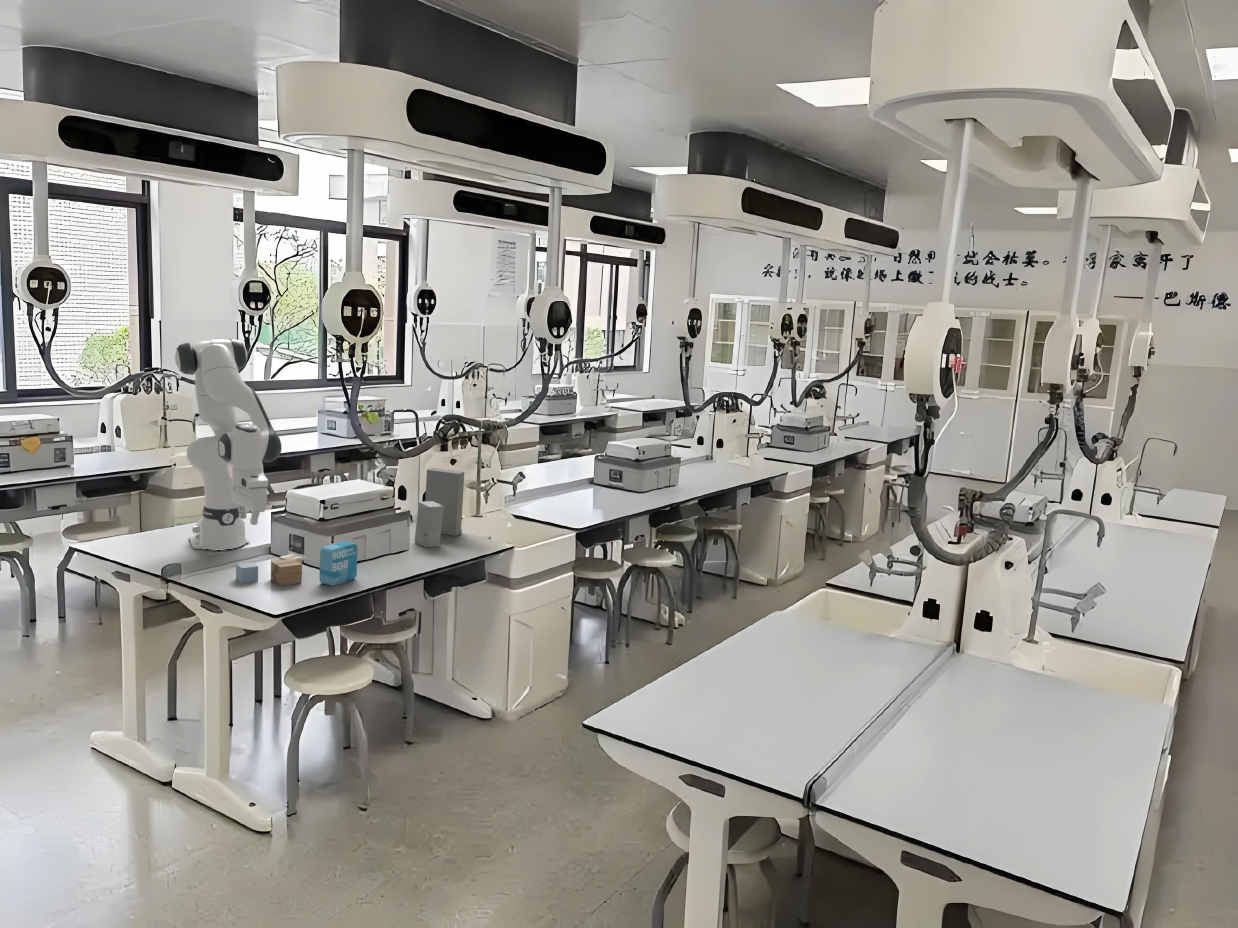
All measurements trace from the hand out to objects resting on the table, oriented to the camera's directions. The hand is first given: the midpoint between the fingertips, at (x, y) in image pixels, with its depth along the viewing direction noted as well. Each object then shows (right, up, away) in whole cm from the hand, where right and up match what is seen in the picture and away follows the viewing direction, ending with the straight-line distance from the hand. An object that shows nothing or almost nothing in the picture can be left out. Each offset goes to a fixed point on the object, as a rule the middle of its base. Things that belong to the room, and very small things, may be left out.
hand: (248, 521), depth 283 cm
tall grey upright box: (+45, -10, +80) cm, 92 cm away
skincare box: (+43, -13, +61) cm, 76 cm away
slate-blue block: (-2, -19, +3) cm, 19 cm away
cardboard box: (+10, -19, +5) cm, 22 cm away
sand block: (+7, -17, +15) cm, 24 cm away
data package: (+25, -20, +10) cm, 33 cm away
